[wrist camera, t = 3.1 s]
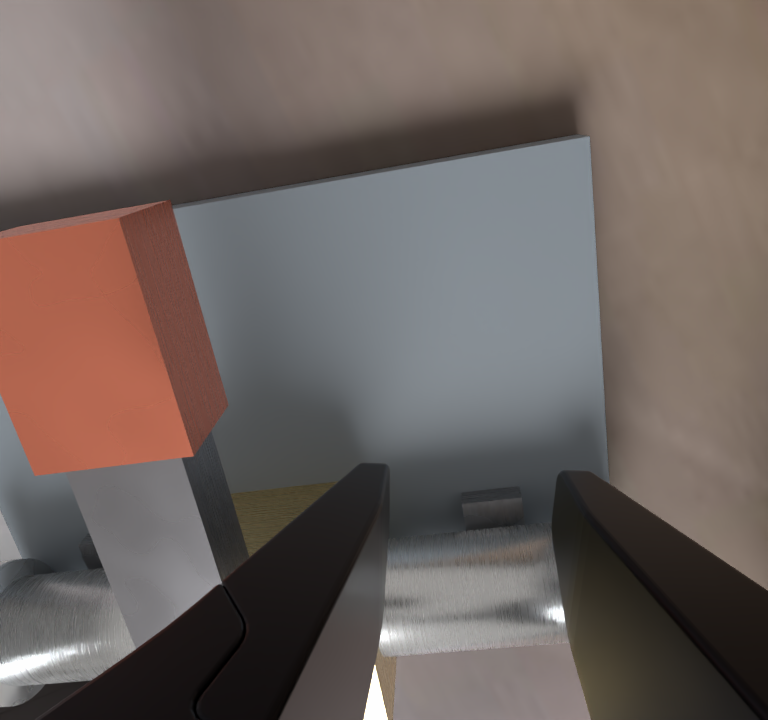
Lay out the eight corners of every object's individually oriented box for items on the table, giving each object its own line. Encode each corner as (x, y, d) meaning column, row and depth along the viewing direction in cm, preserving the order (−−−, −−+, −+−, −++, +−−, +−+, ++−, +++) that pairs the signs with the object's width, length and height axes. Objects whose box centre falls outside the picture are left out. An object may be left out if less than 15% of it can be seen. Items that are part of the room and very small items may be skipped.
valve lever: (329, 757, 18) (315, 842, 16) (217, 764, 18) (190, 848, 16) (170, 199, 12) (118, 217, 10) (18, 226, 13) (-61, 249, 11)
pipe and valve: (607, 450, 21) (680, 590, 15) (615, 593, 23) (682, 769, 17) (4, 519, 24) (-144, 663, 18) (60, 642, 26) (-56, 809, 20)
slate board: (577, 134, 19) (589, 136, 18) (607, 607, 25) (617, 636, 24) (-79, 249, 22) (-114, 258, 21) (94, 651, 28) (76, 679, 27)
